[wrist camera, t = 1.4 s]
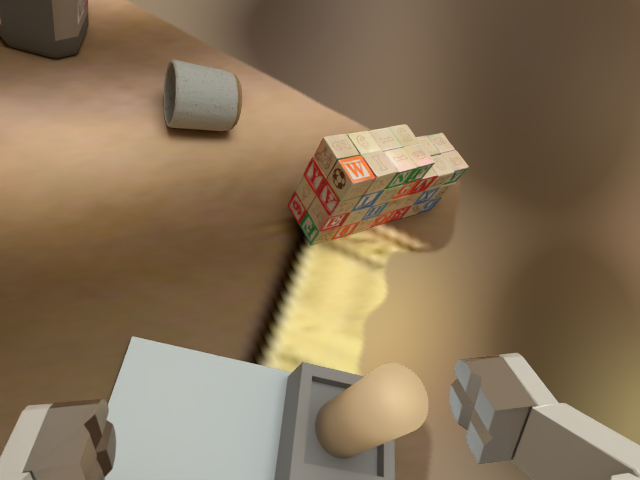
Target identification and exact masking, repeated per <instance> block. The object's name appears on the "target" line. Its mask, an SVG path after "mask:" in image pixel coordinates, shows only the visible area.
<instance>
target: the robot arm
mask: <svg viewBox="0 0 640 480" xmlns="http://www.w3.org/2000/svg"><path fill="white" fill-rule="evenodd" d="M454 372H455V374H456V376H457V377H458V378H457V379H456V380H455V381H454V382H453V383H452V384H451V388H450V393H449V397H450V406H451V409H452V412H453V415H454V417H455V419H456V421H457V423H458V424H459V425H460V426H462V427H463V428H465V429H466V430H467V436H466V441H467V443H468V445H469V447H470V449H471V451H472V453H473V455H474V457H475V459H476V460H477V462H478V464H485V463H493V462H502V461H510V460H513V463H514V464H515V465H516V466H517V467H519V468H520V469H521V470H522V471H523V472H525V473H526V474H527V475H528V476H529V477H531V478H532V479H533V480H640V446H639V445H638V444H636V443H634V442H632V441H630V440H628V439H627V438H625V437H623V436H622V435H620V434H618V433H616V432H615V431H613V430H611V429H609V428H607V427H606V426H604V425H602V424H601V423H599V422H597V421H595V420H594V419H592V418H590V417H588V416H587V415H584V414H583V413H581V412H580V411H578V410H576V409H574V408H573V407H571V406H569V405H567V404H566V403H558V402H557V401H556V399H555V398H554V397H553V395H552V394H551V393H550V392H549V390H548V389H547V388H546V386H545V385H544V384H543V382H542V381H541V380H540V379H539V377H538V376H537V375H536V374H535V372H534V371H533V369H532V368H531V367H530V366H529V364H528V363H527V362H526V360H525V359H524V358H523V357H522V356H521V355H520V354H518V353H511V354H503V355H497V356H496V355H494V356H486V357H477V358H468V359H460V360H459V361H458V362H457V363H456V366H455V370H454ZM108 412H109V408H108V405H107V403H106V400H104V399H95V400H83V401H72V402H60V403H52V404H41V405H29V406H27V407H26V408H25V409H24V410H23V411H22V413H21V415H20V417H19V419H18V421H17V423H16V425H15V427H14V429H13V431H12V433H11V435H10V438H9V440H8V442H7V444H6V446H5V448H4V450H3V452H2V454H1V456H0V480H105V477H106V476H107V474H108V473H109V472H110V471H111V470H112V469H113V465H114V460H115V454H116V434H115V429H114V425H113V424H112V423H111V422H109V421H108V420H107V416H108Z"/></svg>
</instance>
